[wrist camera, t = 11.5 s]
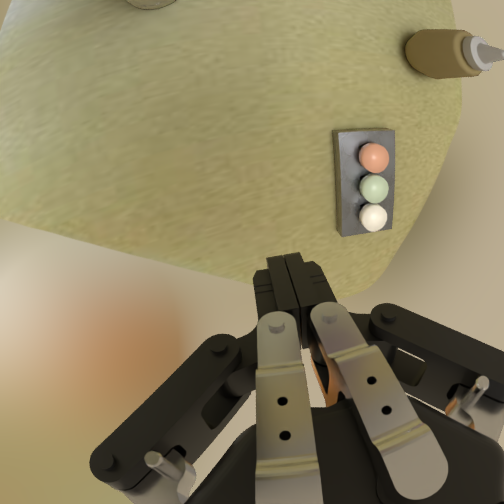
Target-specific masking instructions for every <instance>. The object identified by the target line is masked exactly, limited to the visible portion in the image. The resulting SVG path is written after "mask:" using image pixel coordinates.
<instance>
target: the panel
mask: <svg viewBox="0 0 504 504" xmlns="http://www.w3.org/2000/svg"><path fill="white" fill-rule="evenodd" d="M332 132H333V145H334V160H335V179H336V209H337V231H338V232H339V234H340V235H341V237H345V236H351V235H357V234H363V233H369V232H372V231H369V230H367V229H366V228H365V227H364V226H363V225H362V224H361V222H360V219H359V215H360V205H361V204H368V203H370V202H369V201H367V200H366V199H365V198H364V197H363V196H362V195H361V193H360V188H359V187H360V176H363V175H368V174H371V173H372V172H370V171H368V170H367V169H365V168H364V167H363V166H362V165H361V164H360V161H359V145H365V144H367V143H376V144H379V145H381V146H383V147H384V148H385V149H386V150H387V152H388V154H389V163H388V165H387V167H386V168H385V169H384V170H383V171H382V172H380V173H375V174H378V175H379V176H381V177H382V178H384V179H385V180H386V181H387V183H388V187H389V190H388V194H387V196H386V198H385V199H384V200H383V201H381V202H380V203H377V204H379V205H380V206H381V207H382V208H383V209H385V211H386V213H387V221H386V223H385V225H384V226H383V227H382V228H381V229H380V230H378V231H381V230H387V229H392V219H393V205H394V184H395V130H391V129H388V128H369V129H347V130H332ZM374 232H375V231H374Z"/></svg>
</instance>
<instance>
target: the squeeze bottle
mask: <svg viewBox="0 0 504 504" xmlns="http://www.w3.org/2000/svg"><path fill="white" fill-rule="evenodd" d="M405 54H406V57H407V60H408V61H409V63H410V64H411V66H412V67H414V68H415V69H416V70H418V71H419V72H421V73H423V74H425V75H427V76H429V77H432V78H435V79H444V78H457V77H474V76H478V75H479V74H480V73H481V72H482V71H489V70H490V69H491V67H492V63H493V62H496V61H500V60H504V50H501V49H498V48H495V47H492V46H489V45H488V44H487V42H486V41H485V40H484V39H483V38H481V37H479V36H472V35H471V34H470V33H468V32H467V31H465V30H448V29H427V30H420V31H418V32H417V33H416V34H415V35H414V36H413V37H412V38H411V39H410V40H409V41H408V42H407V44H406V46H405Z"/></svg>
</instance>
